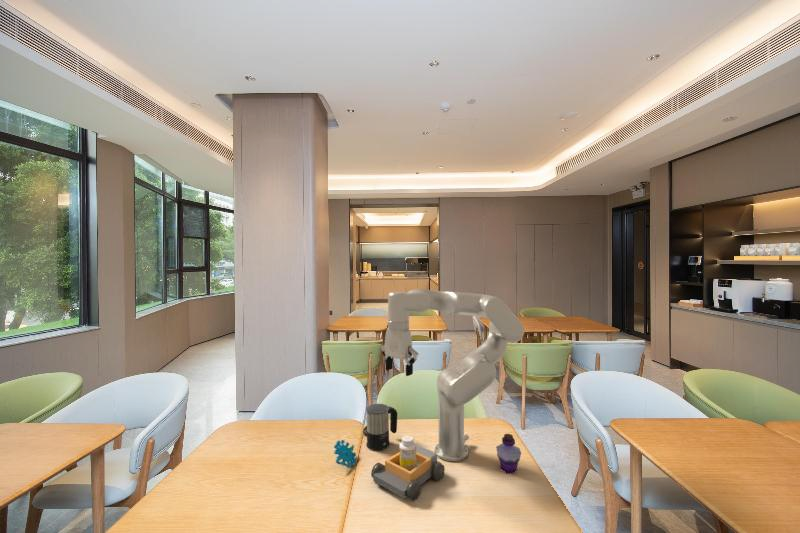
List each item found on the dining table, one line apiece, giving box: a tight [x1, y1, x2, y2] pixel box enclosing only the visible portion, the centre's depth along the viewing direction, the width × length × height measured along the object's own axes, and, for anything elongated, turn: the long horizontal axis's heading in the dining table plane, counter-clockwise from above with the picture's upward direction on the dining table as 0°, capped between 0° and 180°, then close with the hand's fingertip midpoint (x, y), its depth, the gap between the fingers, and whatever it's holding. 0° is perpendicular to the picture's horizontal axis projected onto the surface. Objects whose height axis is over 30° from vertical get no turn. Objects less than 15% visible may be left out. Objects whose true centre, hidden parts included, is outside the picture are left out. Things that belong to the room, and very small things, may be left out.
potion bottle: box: [496, 433, 522, 474], centre depth 127 cm, size 9×9×12 cm
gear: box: [333, 439, 357, 469], centre depth 132 cm, size 11×6×10 cm
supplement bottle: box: [398, 435, 417, 471], centre depth 122 cm, size 6×6×10 cm
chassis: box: [371, 444, 446, 502], centre depth 122 cm, size 20×17×6 cm
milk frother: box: [362, 403, 398, 452], centre depth 148 cm, size 14×16×15 cm
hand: (399, 372), depth 133 cm, fingers open, 9 cm apart
